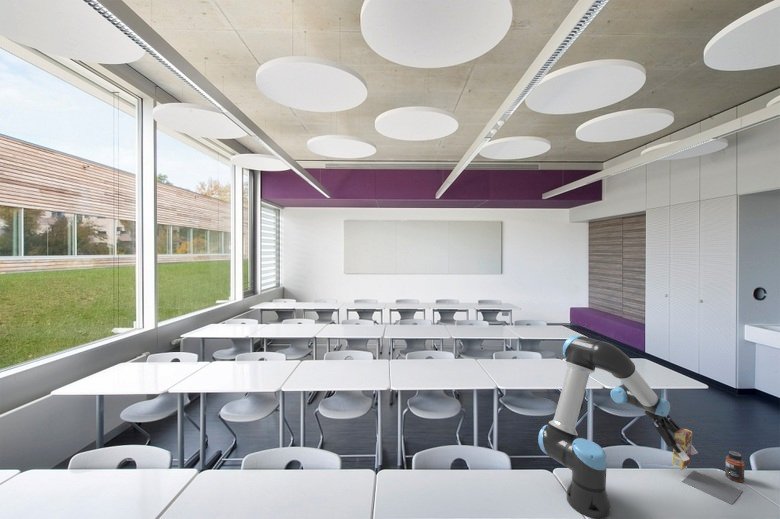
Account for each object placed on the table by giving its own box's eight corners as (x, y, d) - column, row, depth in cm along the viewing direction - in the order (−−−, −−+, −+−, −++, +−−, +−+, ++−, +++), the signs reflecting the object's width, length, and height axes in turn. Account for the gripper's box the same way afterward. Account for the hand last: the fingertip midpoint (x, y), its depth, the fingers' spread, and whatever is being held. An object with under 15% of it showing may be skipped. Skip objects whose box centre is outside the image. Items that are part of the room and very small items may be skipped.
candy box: (683, 470, 154) (685, 436, 153) (671, 465, 157) (673, 432, 157) (690, 464, 159) (692, 431, 158) (679, 459, 162) (680, 427, 162)
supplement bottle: (741, 477, 156) (742, 452, 155) (745, 484, 151) (747, 459, 150) (723, 472, 159) (724, 448, 159) (727, 479, 154) (728, 454, 154)
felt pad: (681, 481, 152) (681, 481, 152) (693, 471, 160) (693, 470, 160) (731, 504, 139) (731, 503, 139) (742, 491, 146) (742, 491, 146)
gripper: (653, 405, 176) (692, 452, 163) (634, 415, 165) (673, 467, 152) (667, 399, 172) (707, 447, 159) (647, 409, 160) (689, 461, 147)
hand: (691, 456), depth 155 cm, fingers closed on candy box, 9 cm apart
